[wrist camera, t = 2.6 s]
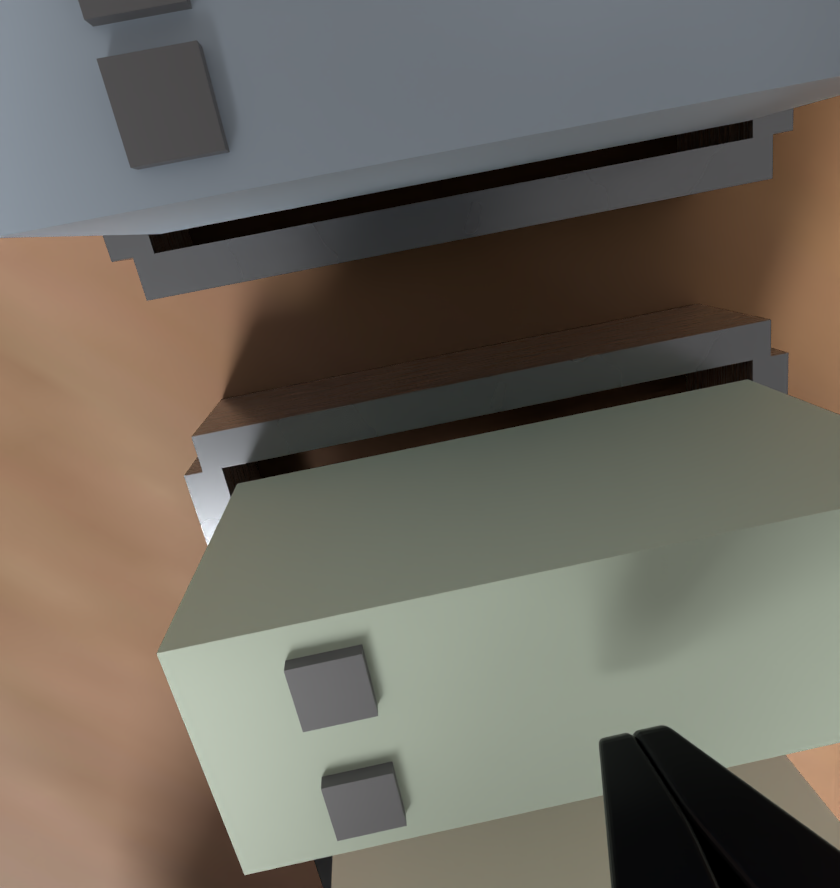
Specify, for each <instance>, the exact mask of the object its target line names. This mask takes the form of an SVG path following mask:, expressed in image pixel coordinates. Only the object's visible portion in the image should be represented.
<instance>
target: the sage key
mask: <svg viewBox="0 0 840 888" xmlns="http://www.w3.org/2000/svg"><path fill="white" fill-rule="evenodd" d="M157 656H158V658H159V661H160V663H161V666H162V668H163V671H164V673H165V676H166V678H167V681H168V683H169V686H170V688H171V691H172V693H173V696H174V698H175V701H176V703H177V706H178V709H179V711H180V714H181V716H182V719H183V721H184V724H185V726H186V729H187V731H188V734H189V736H190V739H191V741H192V744H193V746H194V749H195V751H196V754H197V756H198V759H199V761H200V764H201V767H202V769H203V772H204V774H205V777H206V779H207V782H208V784H209V787H210V789H211V792H212V794H213V797H214V799H215V802H216V804H217V807H218V809H219V812H220V814H221V817H222V819H223V822H224V825H225V827H226V830H227V832H228V835H229V837H230V840H231V842H232V845H233V847H234V850H235V852H236V855H237V857H238V860H239V862H240V865H241V867H242V870H243V872H244V875H248V874H253V873H257V872H261V871H266V870H270V869H275V868H279V867H284V866H288V865H293V864H297V863H302V862H306V861H311V860H315V859H320V858H324V857H329V856H333V855H338V854H342V853H347V852H351V851H356V850H360V849H365V848H369V847H374V846H378V845H383V844H387V843H392V842H396V841H400V840H405V839H409V838H414V837H418V836H423V835H427V834H432V833H436V832H441V831H445V830H450V829H454V828H459V827H463V826H468V825H472V824H477V823H481V822H486V821H490V820H495V819H499V818H504V817H508V816H513V815H517V814H522V813H526V812H531V811H535V810H539V809H544V808H548V807H553V806H557V805H562V804H566V803H571V802H575V801H580V800H584V799H589V798H593V797H598V796H602V795H603V789H602V778H601V766H600V755H599V740H600V739H601V738H604V737H608V736H613V735H618V734H622V733H629V734H631V735H633V733H634V732H635V731H637V730H640V729H645V728H649V727H654V726H658V725H665V726H668V727H670V728H672V729H673V730H674V731H676V732H677V733H679V734H680V735H681V736H683V737H684V738H685V739H687V740H688V741H690V742H691V743H692V744H694V745H695V746H696V747H698V748H699V749H701V750H702V751H703V752H705V753H706V754H707V755H709V756H710V757H712V758H713V759H714V760H716V761H717V762H719V763H720V764H721V765H723V766H724V767H725V768H728V767H732V766H737V765H741V764H746V763H750V762H755V761H759V760H764V759H768V758H773V757H777V756H782V755H786V754H791V753H795V752H800V751H804V750H808V749H813V748H817V747H822V746H826V745H831V744H835V743H840V415H839V414H837V413H834V412H831V411H829V410H826V409H824V408H821V407H818V406H816V405H813V404H811V403H808V402H805V401H803V400H800V399H798V398H795V397H792V396H790V395H787V394H785V393H782V392H779V391H777V390H774V389H772V388H769V387H766V386H764V385H761V384H759V383H756V382H753V381H751V380H748V379H746V380H742V381H737V382H732V383H727V384H722V385H717V386H712V387H707V388H703V389H698V390H693V391H688V392H683V393H678V394H673V395H668V396H663V397H659V398H654V399H649V400H644V401H639V402H634V403H629V404H624V405H619V406H615V407H610V408H605V409H600V410H595V411H590V412H585V413H580V414H575V415H571V416H566V417H561V418H556V419H551V420H546V421H541V422H536V423H532V424H527V425H522V426H517V427H512V428H507V429H502V430H497V431H492V432H488V433H483V434H478V435H473V436H468V437H463V438H458V439H453V440H448V441H444V442H439V443H434V444H429V445H424V446H419V447H414V448H409V449H405V450H400V451H395V452H390V453H385V454H380V455H375V456H370V457H365V458H361V459H356V460H351V461H346V462H341V463H336V464H331V465H326V466H321V467H317V468H312V469H307V470H302V471H297V472H292V473H287V474H282V475H278V476H273V477H268V478H263V479H258V480H253V481H248V482H243V483H238V484H237V485H236V487H235V489H234V491H233V494H232V496H231V498H230V500H229V502H228V504H227V506H226V508H225V510H224V513H223V515H222V517H221V519H220V521H219V523H218V525H217V527H216V529H215V532H214V534H213V536H212V538H211V540H210V542H209V544H208V546H207V548H206V550H205V553H204V555H203V557H202V559H201V561H200V563H199V565H198V567H197V569H196V572H195V574H194V576H193V578H192V580H191V582H190V584H189V586H188V588H187V591H186V593H185V595H184V597H183V599H182V601H181V603H180V605H179V607H178V610H177V612H176V614H175V616H174V618H173V620H172V622H171V624H170V626H169V628H168V631H167V633H166V635H165V637H164V639H163V641H162V643H161V645H160V647H159V650H158V652H157Z"/></svg>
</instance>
